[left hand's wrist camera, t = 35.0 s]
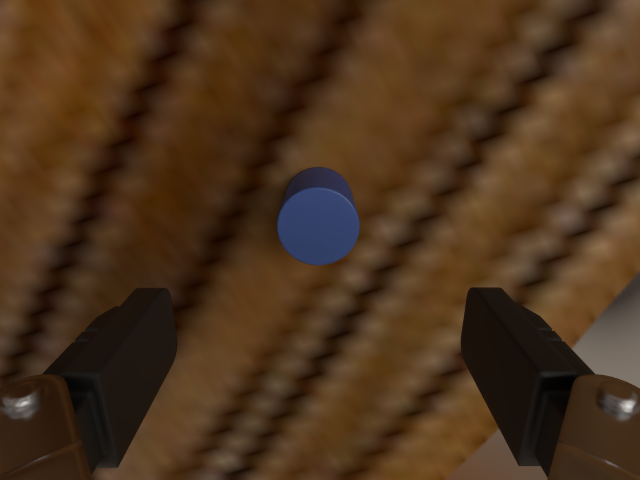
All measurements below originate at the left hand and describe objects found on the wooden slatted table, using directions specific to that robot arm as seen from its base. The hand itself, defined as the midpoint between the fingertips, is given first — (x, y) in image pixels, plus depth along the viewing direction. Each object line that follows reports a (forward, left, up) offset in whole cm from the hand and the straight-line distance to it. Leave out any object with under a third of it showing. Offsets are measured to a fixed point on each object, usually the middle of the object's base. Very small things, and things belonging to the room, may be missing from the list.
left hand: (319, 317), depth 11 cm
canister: (0, 0, -12) cm, 12 cm away
